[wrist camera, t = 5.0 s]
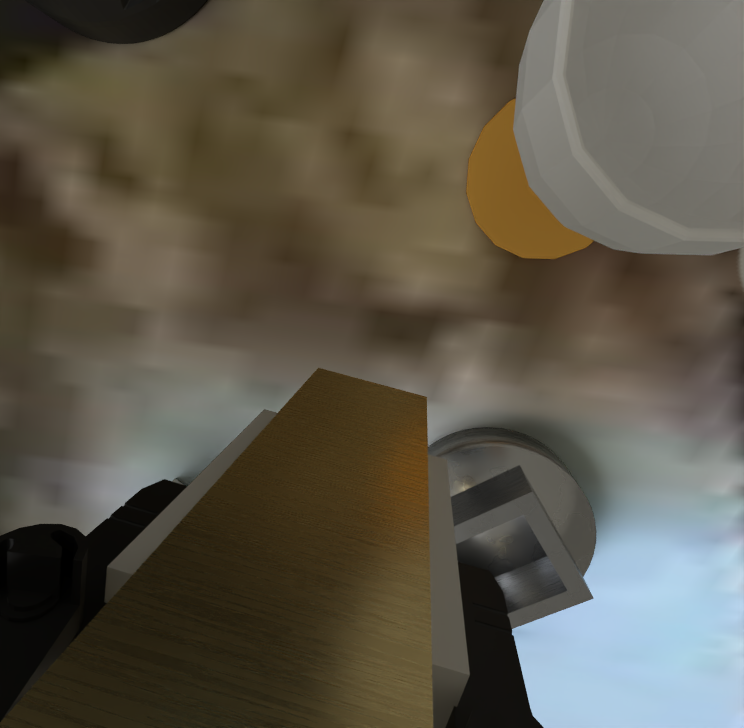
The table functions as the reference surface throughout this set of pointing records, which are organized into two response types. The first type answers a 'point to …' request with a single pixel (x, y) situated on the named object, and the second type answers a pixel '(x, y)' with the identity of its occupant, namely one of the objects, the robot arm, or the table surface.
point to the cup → (619, 132)
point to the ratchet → (519, 519)
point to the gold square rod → (275, 587)
